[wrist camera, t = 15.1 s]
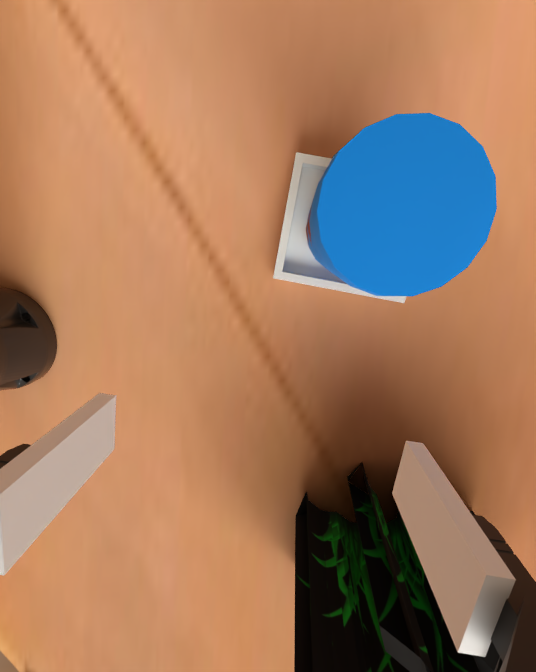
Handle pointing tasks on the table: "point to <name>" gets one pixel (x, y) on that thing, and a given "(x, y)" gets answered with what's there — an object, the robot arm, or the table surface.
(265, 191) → the table surface
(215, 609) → the table surface
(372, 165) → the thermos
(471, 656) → the decorative plant
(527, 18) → the table surface
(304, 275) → the tray
